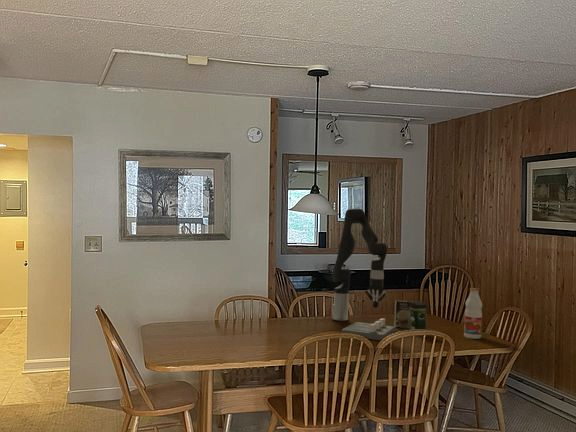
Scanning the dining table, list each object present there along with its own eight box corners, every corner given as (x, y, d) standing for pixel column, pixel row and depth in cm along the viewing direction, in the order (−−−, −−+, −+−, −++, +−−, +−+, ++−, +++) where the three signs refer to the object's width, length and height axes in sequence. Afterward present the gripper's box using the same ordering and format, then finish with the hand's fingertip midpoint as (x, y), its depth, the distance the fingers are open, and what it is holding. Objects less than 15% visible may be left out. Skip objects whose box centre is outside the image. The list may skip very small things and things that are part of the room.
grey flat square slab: (341, 334, 321) (341, 329, 321) (356, 326, 344) (356, 321, 344) (382, 340, 310) (382, 334, 310) (395, 331, 334) (395, 326, 334)
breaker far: (378, 326, 331) (378, 319, 331) (381, 324, 336) (381, 318, 336) (382, 326, 330) (382, 320, 330) (385, 325, 335) (385, 318, 335)
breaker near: (369, 331, 315) (369, 324, 315) (372, 330, 320) (372, 323, 320) (373, 332, 314) (373, 325, 314) (376, 330, 319) (376, 323, 319)
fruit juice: (481, 336, 329) (483, 288, 329) (480, 339, 320) (482, 290, 320) (464, 334, 333) (466, 286, 332) (463, 337, 324) (465, 288, 323)
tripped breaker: (374, 329, 323) (374, 322, 323) (376, 327, 328) (377, 320, 328) (378, 329, 322) (378, 322, 322) (380, 328, 327) (381, 321, 327)
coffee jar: (419, 331, 338) (420, 300, 338) (428, 334, 331) (429, 302, 330) (406, 332, 334) (407, 300, 333) (414, 335, 327) (415, 302, 326)
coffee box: (394, 327, 345) (395, 301, 345) (393, 325, 352) (394, 299, 352) (410, 328, 345) (411, 302, 344) (409, 326, 351) (409, 300, 351)
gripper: (363, 277, 325) (362, 307, 325) (386, 279, 319) (385, 310, 319) (367, 275, 331) (366, 305, 332) (389, 278, 326) (388, 308, 326)
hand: (375, 307), depth 326 cm, fingers closed
